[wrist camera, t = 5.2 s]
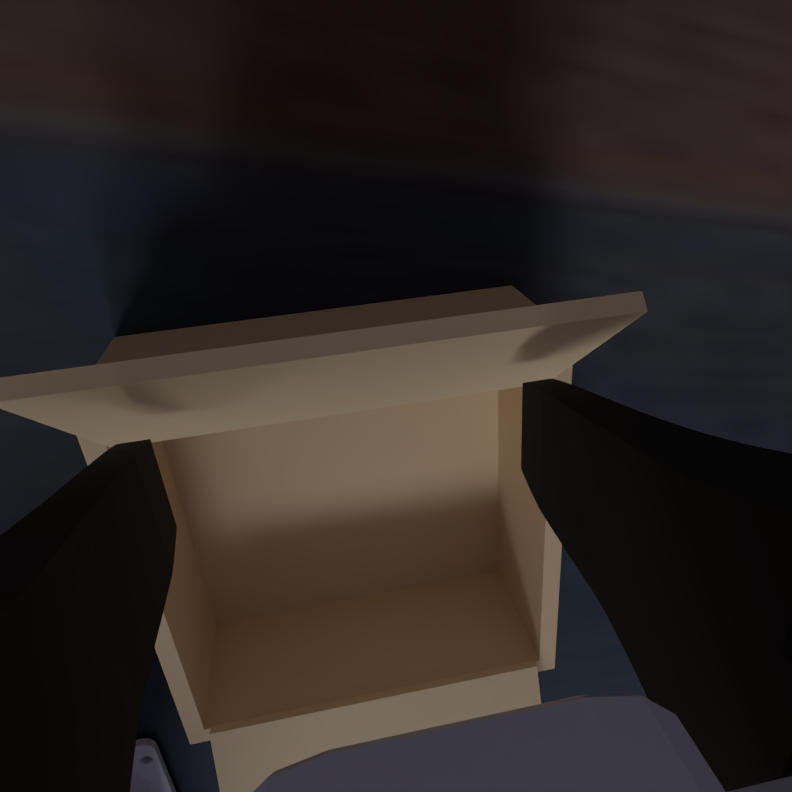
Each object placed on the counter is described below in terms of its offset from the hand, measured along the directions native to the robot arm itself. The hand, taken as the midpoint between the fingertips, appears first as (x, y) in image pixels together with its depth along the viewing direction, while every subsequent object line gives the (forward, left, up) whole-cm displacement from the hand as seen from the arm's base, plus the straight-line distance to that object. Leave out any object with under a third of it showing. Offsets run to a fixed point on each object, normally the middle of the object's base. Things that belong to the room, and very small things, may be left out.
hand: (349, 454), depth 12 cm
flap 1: (0, 0, -2) cm, 2 cm away
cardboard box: (-7, 0, -9) cm, 12 cm away
